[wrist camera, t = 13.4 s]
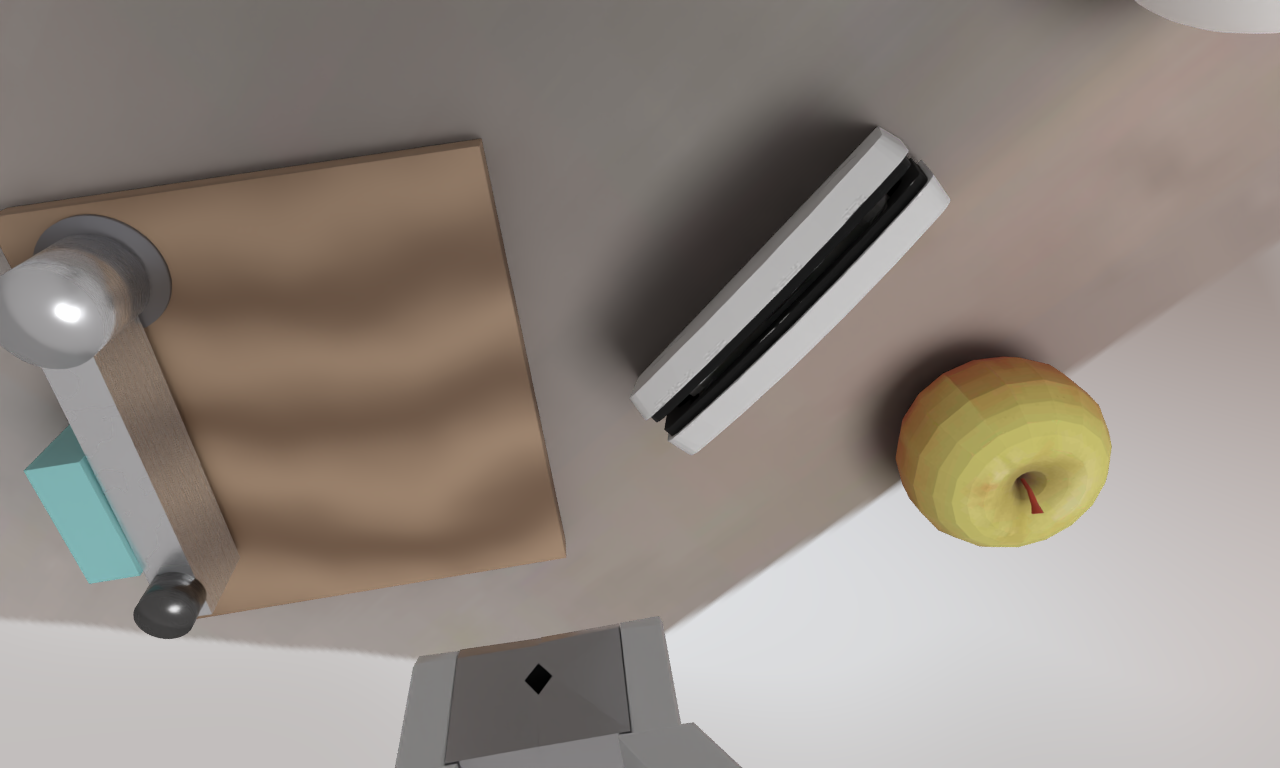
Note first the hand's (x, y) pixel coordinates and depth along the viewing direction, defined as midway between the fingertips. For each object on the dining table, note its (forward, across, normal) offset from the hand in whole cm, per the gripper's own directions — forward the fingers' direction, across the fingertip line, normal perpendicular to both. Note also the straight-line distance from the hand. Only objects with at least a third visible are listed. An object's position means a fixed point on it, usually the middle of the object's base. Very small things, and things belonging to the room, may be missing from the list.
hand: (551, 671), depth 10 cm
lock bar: (+27, +19, +8) cm, 34 cm away
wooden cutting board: (+29, +12, +10) cm, 33 cm away
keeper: (+28, +21, +11) cm, 37 cm away
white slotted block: (+30, -10, +7) cm, 32 cm away
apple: (+29, -20, +17) cm, 39 cm away
